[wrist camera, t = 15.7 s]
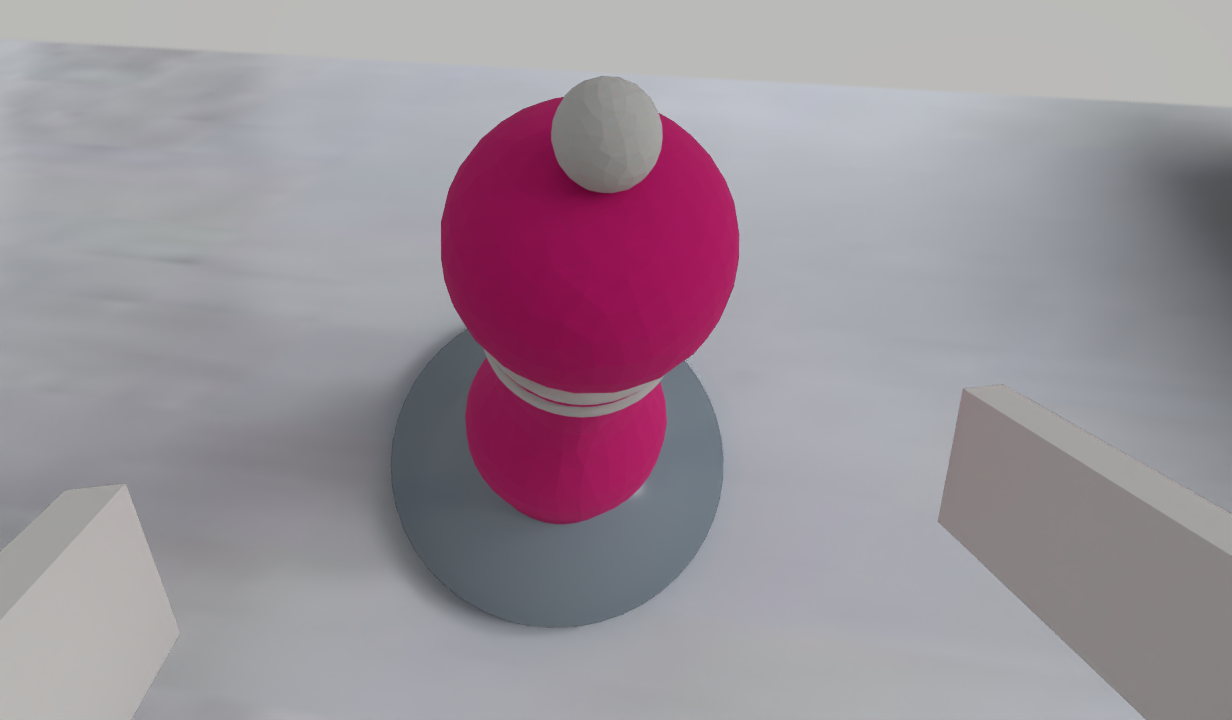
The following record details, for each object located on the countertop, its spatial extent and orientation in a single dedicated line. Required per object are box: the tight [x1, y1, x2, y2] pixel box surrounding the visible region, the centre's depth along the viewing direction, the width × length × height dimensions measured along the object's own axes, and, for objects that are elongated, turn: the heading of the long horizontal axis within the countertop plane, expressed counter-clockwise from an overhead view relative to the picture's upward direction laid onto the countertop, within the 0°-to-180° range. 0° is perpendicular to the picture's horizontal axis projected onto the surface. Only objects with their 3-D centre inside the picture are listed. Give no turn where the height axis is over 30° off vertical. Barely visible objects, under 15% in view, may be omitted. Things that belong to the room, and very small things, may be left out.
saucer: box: [391, 329, 723, 628], centre depth 29 cm, size 14×14×1 cm
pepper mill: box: [441, 76, 739, 524], centre depth 19 cm, size 7×7×20 cm
